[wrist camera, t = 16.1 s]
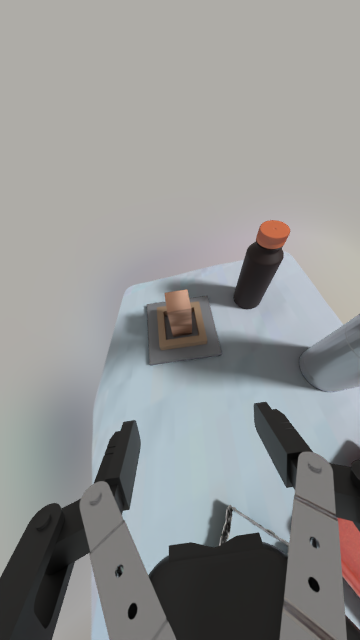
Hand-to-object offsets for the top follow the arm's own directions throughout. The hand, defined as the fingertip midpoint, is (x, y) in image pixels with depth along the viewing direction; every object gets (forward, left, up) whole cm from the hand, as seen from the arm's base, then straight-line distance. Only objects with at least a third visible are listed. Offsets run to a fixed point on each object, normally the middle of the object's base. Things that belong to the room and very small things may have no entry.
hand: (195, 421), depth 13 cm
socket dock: (0, -21, -27) cm, 34 cm away
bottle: (-18, -27, -27) cm, 42 cm away
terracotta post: (0, -21, -26) cm, 33 cm away
